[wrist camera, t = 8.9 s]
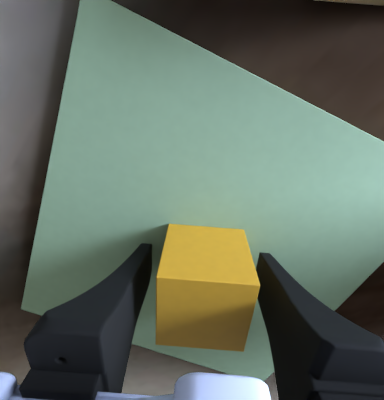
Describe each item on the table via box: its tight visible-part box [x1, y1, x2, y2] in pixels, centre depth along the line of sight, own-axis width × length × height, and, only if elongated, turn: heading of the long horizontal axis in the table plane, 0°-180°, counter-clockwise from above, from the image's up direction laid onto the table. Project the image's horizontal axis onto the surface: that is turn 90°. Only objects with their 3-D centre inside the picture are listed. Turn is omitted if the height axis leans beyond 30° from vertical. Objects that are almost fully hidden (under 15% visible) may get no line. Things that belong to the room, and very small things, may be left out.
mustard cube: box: [155, 224, 260, 352], centre depth 13 cm, size 4×4×4 cm
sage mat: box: [21, 0, 384, 382], centre depth 15 cm, size 20×20×1 cm
